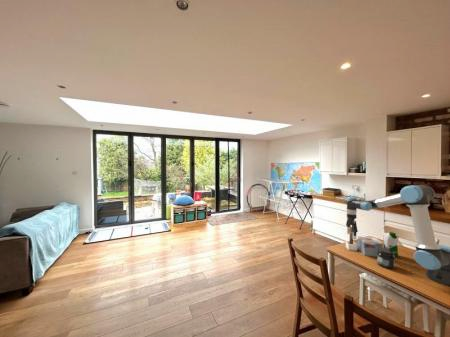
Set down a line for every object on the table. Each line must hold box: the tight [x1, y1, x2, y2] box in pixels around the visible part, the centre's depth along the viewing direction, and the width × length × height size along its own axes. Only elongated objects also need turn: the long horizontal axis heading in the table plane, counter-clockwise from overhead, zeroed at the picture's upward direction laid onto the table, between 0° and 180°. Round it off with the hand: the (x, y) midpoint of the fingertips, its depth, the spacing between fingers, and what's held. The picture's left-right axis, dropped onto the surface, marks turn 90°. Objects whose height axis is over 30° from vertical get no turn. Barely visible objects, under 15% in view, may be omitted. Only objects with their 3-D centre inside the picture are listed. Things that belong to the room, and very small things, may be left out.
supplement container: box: [376, 247, 396, 270], centre depth 143 cm, size 10×10×12 cm
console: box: [356, 236, 384, 258], centre depth 165 cm, size 16×14×12 cm
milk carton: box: [382, 231, 400, 258], centre depth 161 cm, size 9×9×20 cm
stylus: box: [348, 226, 354, 244], centre depth 173 cm, size 3×3×20 cm
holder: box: [345, 241, 358, 251], centre depth 173 cm, size 7×7×5 cm
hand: (351, 236), depth 173 cm, fingers open, 13 cm apart
